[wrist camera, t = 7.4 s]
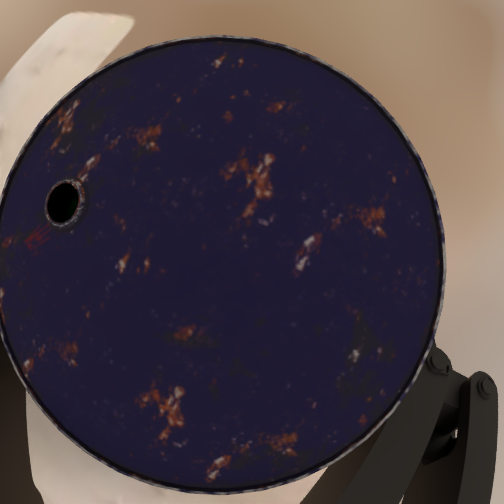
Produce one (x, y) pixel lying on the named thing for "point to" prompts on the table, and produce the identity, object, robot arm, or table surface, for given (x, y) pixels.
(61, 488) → the table surface
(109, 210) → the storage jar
